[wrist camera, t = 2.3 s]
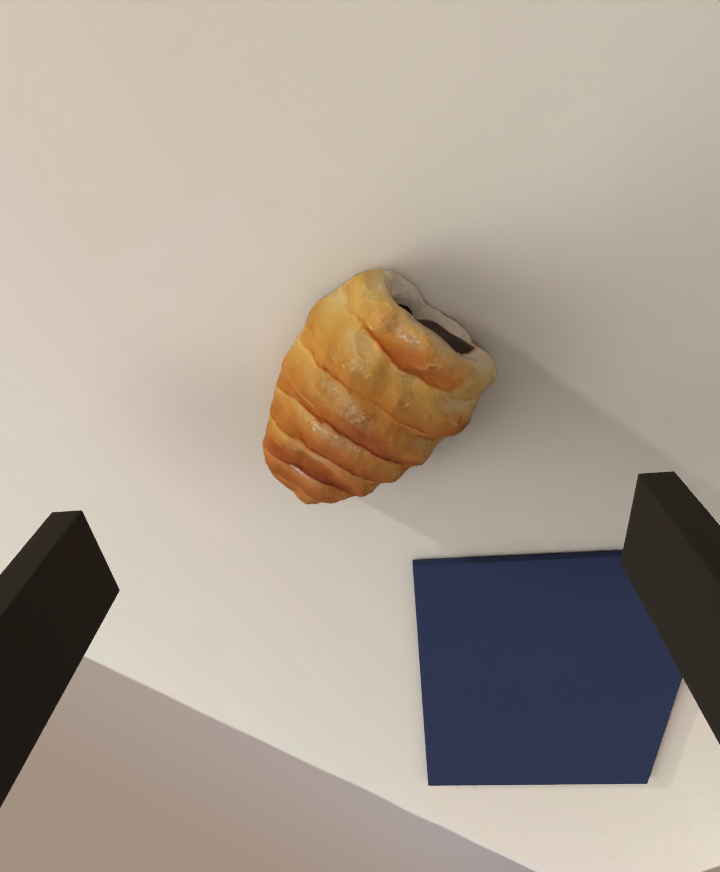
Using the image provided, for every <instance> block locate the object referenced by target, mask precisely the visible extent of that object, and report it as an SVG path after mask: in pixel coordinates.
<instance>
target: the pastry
mask: <svg viewBox="0 0 720 872" xmlns="http://www.w3.org/2000/svg"><path fill="white" fill-rule="evenodd" d="M495 377H496V367H495V364H494V360H493V358H492V357H491V355H489V354H488V353H487V352H485V351H484V350H482V349H480V348H478V347H477V346H476V345H475V344H474V343H473V341H472V340H471V336H470V335H469V333H468V332H467V331H466V330H465V329H464V328H463V327H462V326H460V325H459V324H458V323H457V322H456V321H455V320H453V319H450V318H448V317H446V316H445V315H443V314H442V313H441V312H439V311H438V310H436V309H434V308H432V307H429V306H427V305H426V304H425V303H424V301H423V299H422V297H421V294H420V293H419V292H418V290H417V289H416V288H415V286H414V285H413V284H412V283H410V282H408V281H406V280H405V279H404V278H402V277H401V276H400V275H399V274H398V273H395V272H392V271H387V270H382V269H372V270H368V271H365V272H362V273H360V274H358V275H355V276H354V277H353V278H351V279H350V280H348V281H347V282H346V283H344V284H343V285H342V286H341V287H339V288H338V289H337V290H335V291H334V292H332V293H331V294H329V295H327V296H326V297H324V298H322V299H321V300H320V301H318V302H317V303H316V305H315V306H314V307H313V308H312V310H311V311H310V313H309V316H308V318H307V321H306V323H305V326H304V328H303V329H302V331H301V332H300V334H299V335H298V337H297V339H296V341H295V343H294V345H293V346H292V348H291V349H290V350H289V352H288V353H287V355H286V356H285V358H284V360H283V363H282V370H281V373H280V375H279V378H278V381H277V383H276V387H275V392H274V399H273V402H272V404H271V408H270V416H269V421H268V425H267V430H266V434H265V437H264V440H263V451H264V455H265V461H266V463H267V465H268V467H269V469H270V471H271V472H272V474H273V476H274V477H275V478H276V479H278V480H279V481H280V482H281V483H282V484H284V485H285V486H286V487H287V488H289V489H290V490H292V491H293V492H294V493H295V495H296V496H297V497H298V498H299V499H300V500H301V501H302V502H304V503H305V504H318V503H321V502H324V503H336V502H338V501H341V500H344V499H347V498H349V497H353V496H359V497H362V496H366V495H367V494H369V493H372V492H373V491H374V490H375V488H376V487H377V486H378V485H379V484H380V483H392V482H395V481H396V480H398V479H399V478H400V477H401V476H402V475H403V474H404V472H405V471H406V470H407V469H408V468H409V467H411V466H417V465H421V464H423V463H424V462H425V461H426V460H427V459H428V458H429V457H430V455H431V453H432V452H433V450H434V448H435V446H436V444H437V443H439V442H440V441H441V440H442V439H443V438H444V437H448V436H454V435H456V434H458V433H460V432H461V431H463V429H464V428H465V427H466V426H467V425H468V423H469V422H470V420H471V416H472V412H473V410H474V407H475V405H476V403H477V400H478V399H479V397H480V395H481V394H482V392H483V391H484V389H485V388H486V387H487V386H489V385H490V384H492V383H493V382H494V380H495Z"/></svg>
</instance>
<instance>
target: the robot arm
mask: <svg viewBox="0 0 720 872" xmlns="http://www.w3.org/2000/svg"><path fill="white" fill-rule="evenodd" d="M620 564H621V566H622V568H623V569H624V571H625V573H626V575H627V577H628V578H629V580H630V582H631V584H632V586H633V588H634V589H635V591H636V593H637V595H638V597H639V598H640V600H641V602H642V604H643V606H644V608H645V609H646V611H647V613H648V615H649V617H650V618H651V620H652V622H653V624H654V626H655V628H656V629H657V631H658V633H659V635H660V637H661V639H662V640H663V642H664V644H665V646H666V648H667V649H668V651H669V653H670V655H671V657H672V659H673V660H674V662H675V664H676V666H677V668H678V669H679V671H680V673H681V675H682V677H683V679H684V680H685V682H686V684H687V686H688V688H689V689H690V691H691V693H692V695H693V697H694V699H695V700H696V702H697V704H698V706H699V708H700V710H701V711H702V713H703V715H704V717H705V719H706V720H707V722H708V724H709V726H710V728H711V730H712V731H713V733H714V735H715V737H716V739H717V740H718V742H719V744H720V525H719V524H718V523H717V522H716V521H715V519H714V518H713V517H712V516H711V515H710V513H709V512H708V511H707V510H706V509H705V508H704V506H703V505H702V504H701V503H700V502H699V500H698V499H697V498H696V497H695V496H694V495H693V493H692V492H691V491H690V490H689V489H688V487H687V486H686V485H685V484H684V483H683V482H682V480H681V479H680V478H679V477H678V476H677V474H676V473H675V472H659V473H644V474H638V479H637V484H636V489H635V494H634V499H633V504H632V509H631V514H630V519H629V524H628V529H627V533H626V538H625V543H624V548H623V553H622V558H621V563H620ZM119 591H120V590H119V588H118V586H117V584H116V581H115V579H114V577H113V575H112V573H111V571H110V569H109V567H108V564H107V562H106V560H105V558H104V556H103V554H102V552H101V550H100V548H99V545H98V543H97V541H96V539H95V537H94V535H93V533H92V531H91V529H90V526H89V524H88V522H87V520H86V518H85V516H84V514H83V512H82V511H66V512H52V513H51V514H50V516H49V517H48V518H47V519H46V520H45V522H44V523H43V524H42V525H41V526H40V528H39V529H38V530H37V531H36V532H35V534H34V535H33V536H32V537H31V538H30V540H29V541H28V542H27V543H26V544H25V546H24V547H23V548H22V549H21V550H20V552H19V553H18V554H17V555H16V556H15V558H14V559H13V560H12V561H11V563H10V564H9V565H8V566H7V567H6V569H5V570H4V571H3V572H2V573H1V575H0V807H1V805H2V804H3V802H4V800H5V798H6V796H7V794H8V793H9V791H10V789H11V787H12V785H13V784H14V782H15V780H16V778H17V776H18V774H19V773H20V771H21V769H22V767H23V765H24V764H25V762H26V760H27V758H28V756H29V754H30V753H31V751H32V749H33V747H34V745H35V744H36V742H37V740H38V738H39V736H40V734H41V732H42V731H43V729H44V727H45V725H46V723H47V722H48V720H49V718H50V716H51V714H52V713H53V711H54V709H55V707H56V705H57V703H58V702H59V700H60V698H61V696H62V694H63V693H64V691H65V689H66V687H67V685H68V683H69V682H70V680H71V678H72V676H73V674H74V673H75V671H76V669H77V667H78V665H79V663H80V662H81V660H82V658H83V656H84V654H85V653H86V651H87V649H88V647H89V645H90V643H91V642H92V640H93V638H94V636H95V634H96V633H97V631H98V629H99V627H100V625H101V623H102V622H103V620H104V618H105V616H106V614H107V613H108V611H109V609H110V607H111V605H112V603H113V602H114V600H115V598H116V596H117V594H118V593H119Z"/></svg>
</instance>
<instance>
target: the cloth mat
mask: <svg viewBox="0 0 720 872" xmlns="http://www.w3.org/2000/svg"><path fill="white" fill-rule="evenodd" d="M622 553H623V551H601V552H580V553H558V554H537V555H515V556H493V557H472V558H450V559H428V560H413V575H414V589H415V603H416V617H417V631H418V645H419V660H420V674H421V688H422V702H423V716H424V730H425V744H426V759H427V773H428V785H429V786H440V785H554V784H647V783H648V780H649V777H650V774H651V771H652V768H653V765H654V762H655V759H656V756H657V753H658V750H659V747H660V744H661V741H662V738H663V734H664V731H665V728H666V725H667V722H668V719H669V716H670V713H671V710H672V707H673V704H674V701H675V698H676V695H677V692H678V689H679V686H680V683H681V680H682V675H681V673H680V671H679V669H678V668H677V666H676V664H675V662H674V660H673V659H672V657H671V655H670V653H669V651H668V649H667V648H666V646H665V644H664V642H663V640H662V639H661V637H660V635H659V633H658V631H657V629H656V628H655V626H654V624H653V622H652V620H651V618H650V617H649V615H648V613H647V611H646V609H645V608H644V606H643V604H642V602H641V600H640V598H639V597H638V595H637V593H636V591H635V589H634V588H633V586H632V584H631V582H630V580H629V578H628V577H627V575H626V573H625V571H624V569H623V568H622V566H621V564H620V563H621V558H622Z"/></svg>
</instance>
